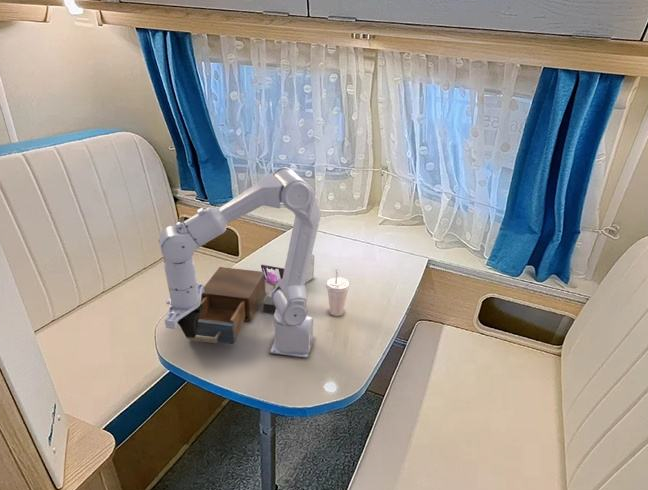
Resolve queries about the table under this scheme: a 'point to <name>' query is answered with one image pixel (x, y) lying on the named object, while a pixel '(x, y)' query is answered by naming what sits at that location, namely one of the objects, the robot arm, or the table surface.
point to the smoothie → (337, 294)
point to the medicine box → (310, 269)
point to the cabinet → (237, 287)
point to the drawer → (220, 320)
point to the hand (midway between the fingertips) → (191, 335)
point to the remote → (269, 305)
